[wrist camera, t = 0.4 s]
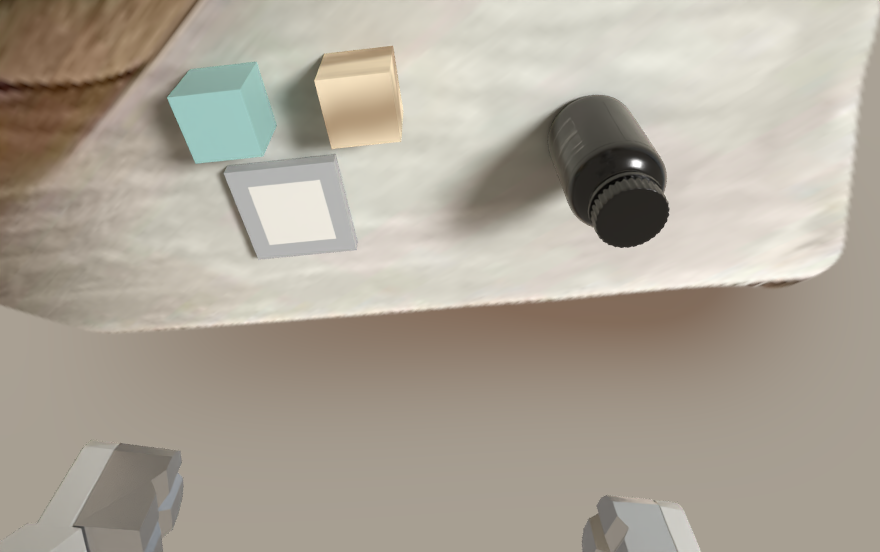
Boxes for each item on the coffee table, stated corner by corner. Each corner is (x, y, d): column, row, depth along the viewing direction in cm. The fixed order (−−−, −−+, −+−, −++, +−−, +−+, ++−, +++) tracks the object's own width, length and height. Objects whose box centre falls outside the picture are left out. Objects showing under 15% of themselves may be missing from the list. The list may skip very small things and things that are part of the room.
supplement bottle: (571, 184, 49) (605, 276, 40) (530, 125, 46) (557, 211, 36) (647, 140, 47) (701, 227, 38) (610, 73, 43) (660, 152, 34)
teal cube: (190, 69, 42) (166, 97, 38) (256, 61, 42) (240, 89, 38) (214, 131, 46) (195, 163, 42) (276, 124, 45) (263, 156, 41)
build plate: (227, 165, 47) (223, 173, 46) (335, 154, 47) (333, 161, 46) (261, 251, 53) (258, 259, 52) (357, 241, 53) (356, 250, 52)
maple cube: (324, 53, 42) (314, 80, 38) (393, 45, 41) (389, 72, 38) (339, 117, 45) (331, 149, 41) (403, 110, 45) (401, 141, 41)
